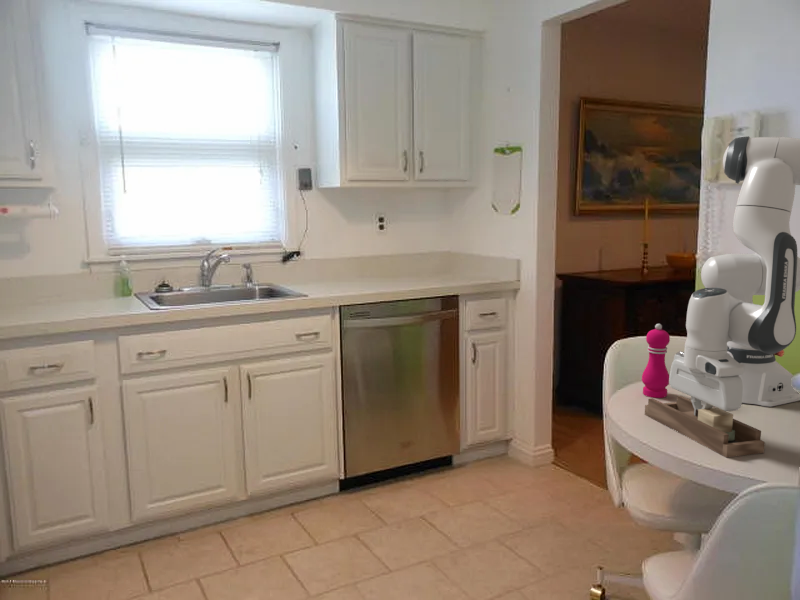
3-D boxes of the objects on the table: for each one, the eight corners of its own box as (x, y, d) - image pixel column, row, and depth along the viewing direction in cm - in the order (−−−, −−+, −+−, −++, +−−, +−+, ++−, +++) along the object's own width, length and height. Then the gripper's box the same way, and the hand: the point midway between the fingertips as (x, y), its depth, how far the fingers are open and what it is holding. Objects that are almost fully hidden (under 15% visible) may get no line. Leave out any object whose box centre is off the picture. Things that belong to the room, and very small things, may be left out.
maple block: (716, 424, 149) (717, 407, 149) (731, 431, 145) (733, 414, 144) (697, 426, 148) (698, 409, 148) (712, 433, 144) (713, 416, 143)
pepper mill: (637, 390, 184) (640, 321, 181) (663, 390, 184) (667, 321, 181) (646, 398, 177) (649, 326, 174) (673, 398, 177) (677, 326, 174)
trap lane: (677, 411, 166) (678, 394, 166) (763, 452, 139) (765, 432, 138) (644, 414, 164) (645, 397, 163) (726, 457, 137) (727, 437, 136)
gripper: (664, 350, 158) (660, 405, 160) (724, 371, 138) (720, 434, 140) (686, 348, 159) (683, 403, 161) (750, 369, 140) (745, 431, 142)
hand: (700, 417), depth 151 cm, fingers closed
